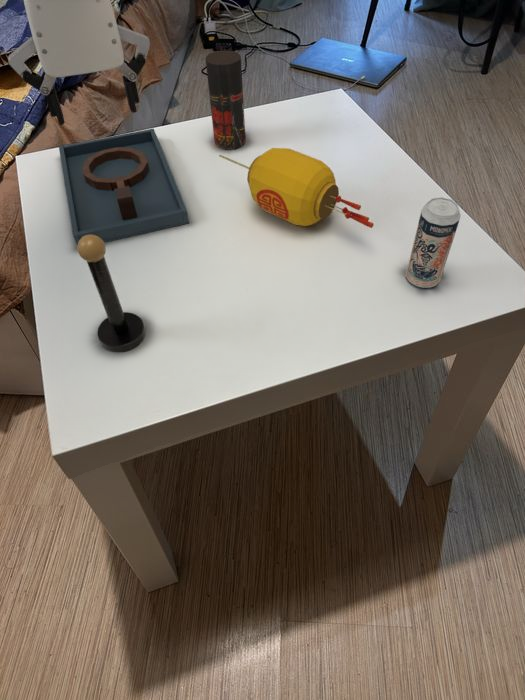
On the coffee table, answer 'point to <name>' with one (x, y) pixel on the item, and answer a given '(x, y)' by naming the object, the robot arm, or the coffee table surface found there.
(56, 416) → the coffee table surface
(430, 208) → the beer can
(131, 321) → the black post with ball
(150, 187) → the tray
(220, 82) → the deodorant
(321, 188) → the lantern
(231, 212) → the coffee table surface
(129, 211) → the brown ring with handle
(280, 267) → the coffee table surface
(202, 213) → the coffee table surface
